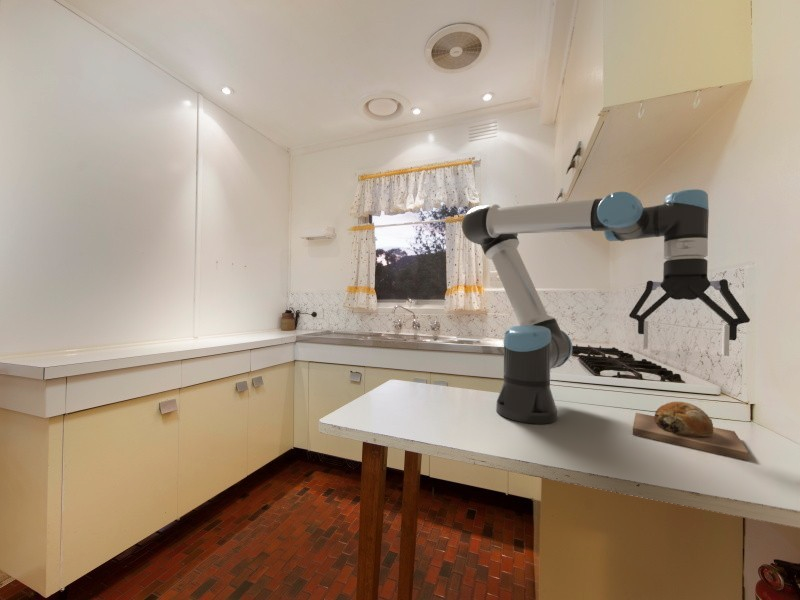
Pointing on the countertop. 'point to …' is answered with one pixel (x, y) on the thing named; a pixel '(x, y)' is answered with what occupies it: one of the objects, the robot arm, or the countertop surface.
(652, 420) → the cutting board
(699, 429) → the bread roll
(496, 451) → the countertop surface
